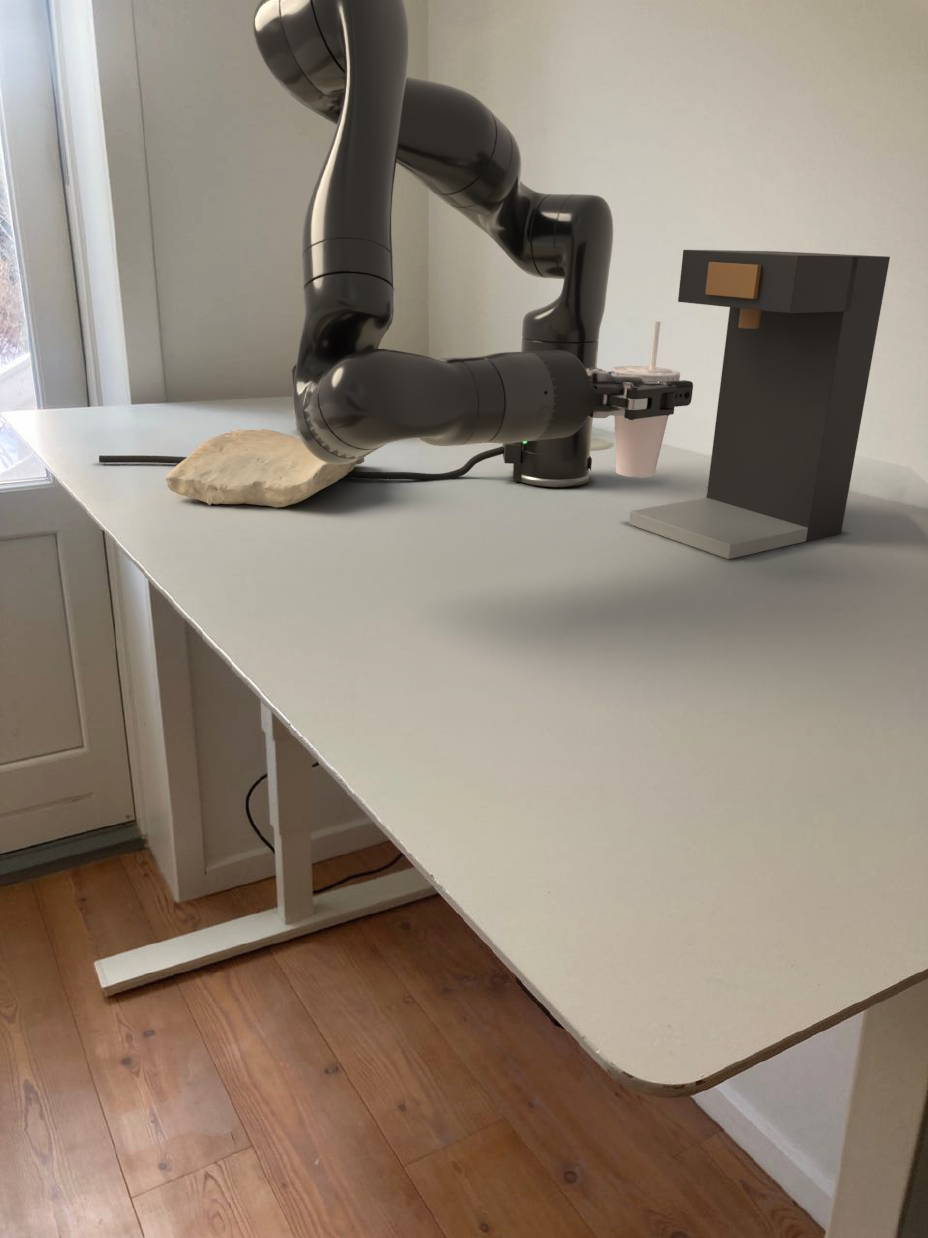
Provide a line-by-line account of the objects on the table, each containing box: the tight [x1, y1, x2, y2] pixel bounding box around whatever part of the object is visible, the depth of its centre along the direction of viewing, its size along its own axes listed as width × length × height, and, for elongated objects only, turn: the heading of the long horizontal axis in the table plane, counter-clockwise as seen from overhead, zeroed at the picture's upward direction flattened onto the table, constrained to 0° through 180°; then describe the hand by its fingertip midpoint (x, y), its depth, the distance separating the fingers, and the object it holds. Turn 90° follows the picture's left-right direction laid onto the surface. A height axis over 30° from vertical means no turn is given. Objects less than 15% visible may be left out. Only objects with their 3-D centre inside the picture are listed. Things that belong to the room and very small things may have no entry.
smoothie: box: [611, 321, 681, 478], centre depth 93 cm, size 6×6×14 cm
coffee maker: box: [628, 249, 891, 560], centre depth 102 cm, size 18×14×28 cm
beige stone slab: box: [165, 428, 365, 508], centre depth 118 cm, size 24×8×20 cm
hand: (661, 387), depth 94 cm, fingers closed on smoothie, 6 cm apart
